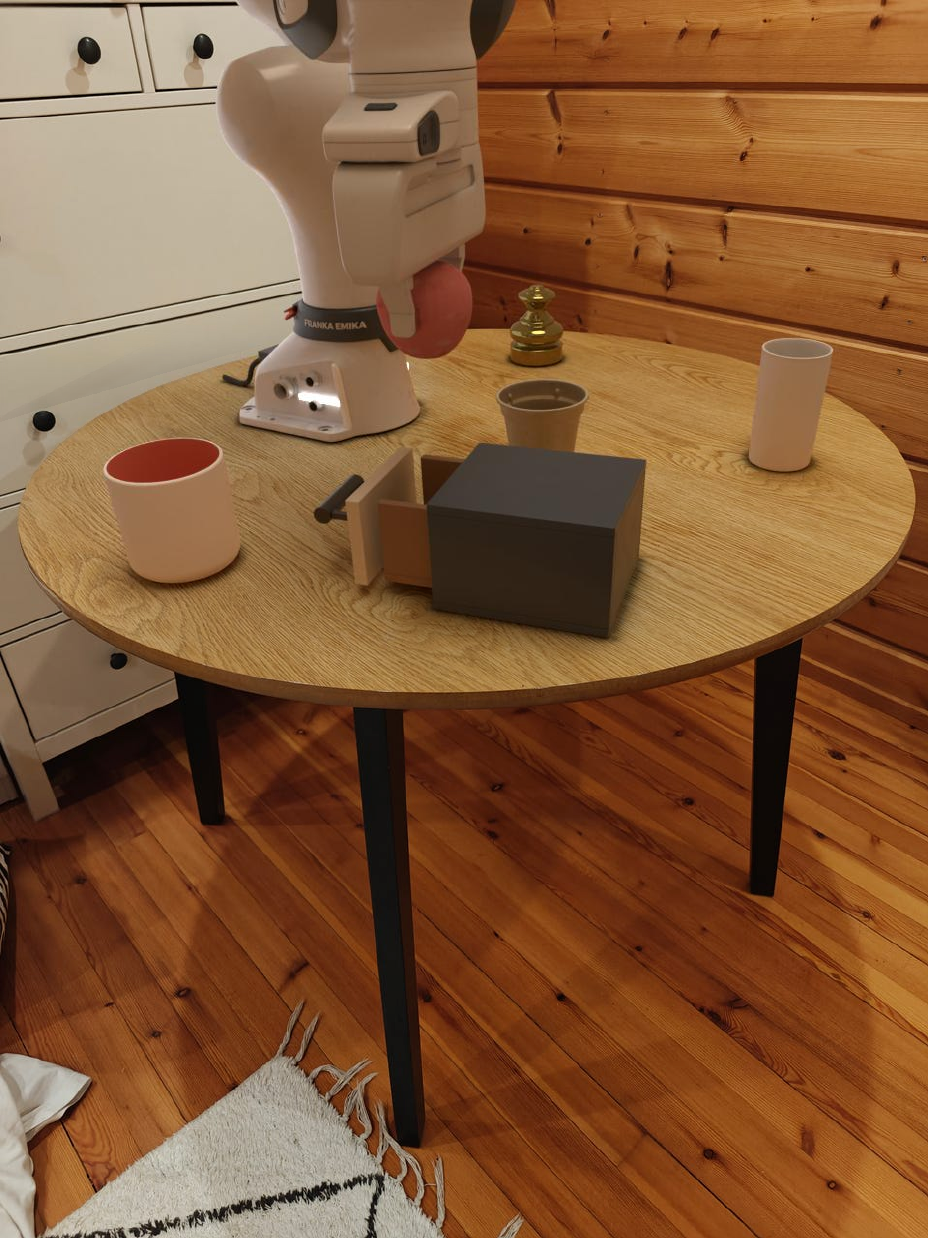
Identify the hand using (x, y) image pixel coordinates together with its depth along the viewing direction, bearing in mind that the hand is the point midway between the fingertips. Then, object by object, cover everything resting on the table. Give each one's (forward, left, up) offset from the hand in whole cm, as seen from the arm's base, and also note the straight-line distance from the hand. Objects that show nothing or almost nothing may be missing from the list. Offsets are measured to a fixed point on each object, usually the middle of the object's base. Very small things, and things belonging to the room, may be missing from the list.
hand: (427, 318), depth 71 cm
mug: (+27, +30, -21) cm, 46 cm away
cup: (-22, -8, -21) cm, 31 cm away
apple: (0, 0, -3) cm, 3 cm away
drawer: (0, -3, -20) cm, 20 cm away
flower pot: (+4, +19, -21) cm, 29 cm away
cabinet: (+10, -3, -21) cm, 23 cm away
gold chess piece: (-7, +56, -21) cm, 60 cm away
